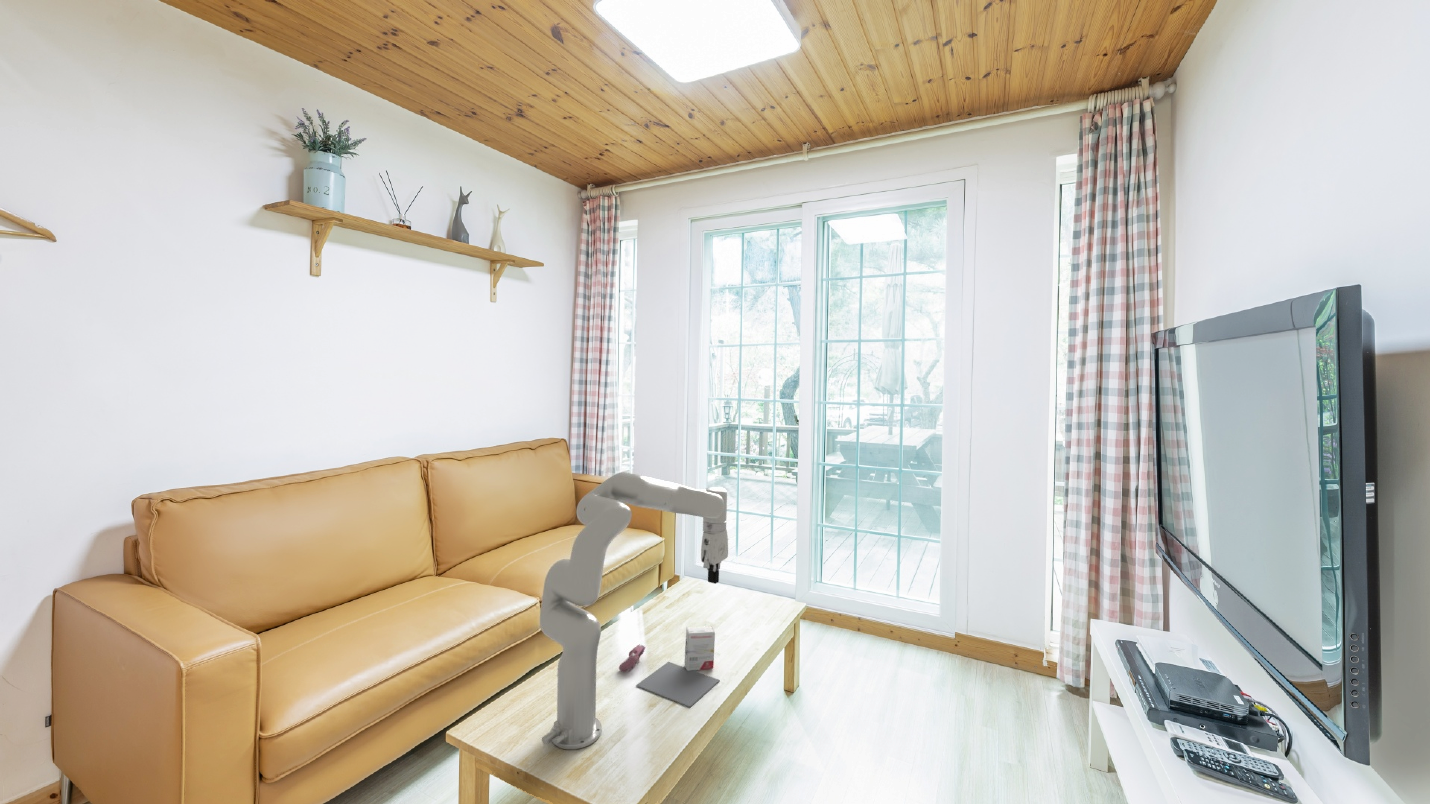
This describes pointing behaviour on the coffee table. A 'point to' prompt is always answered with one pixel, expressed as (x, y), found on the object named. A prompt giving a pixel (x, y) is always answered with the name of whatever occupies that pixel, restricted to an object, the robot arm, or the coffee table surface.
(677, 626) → the coffee table surface
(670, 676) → the mat
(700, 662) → the ink box
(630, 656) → the video game controller
